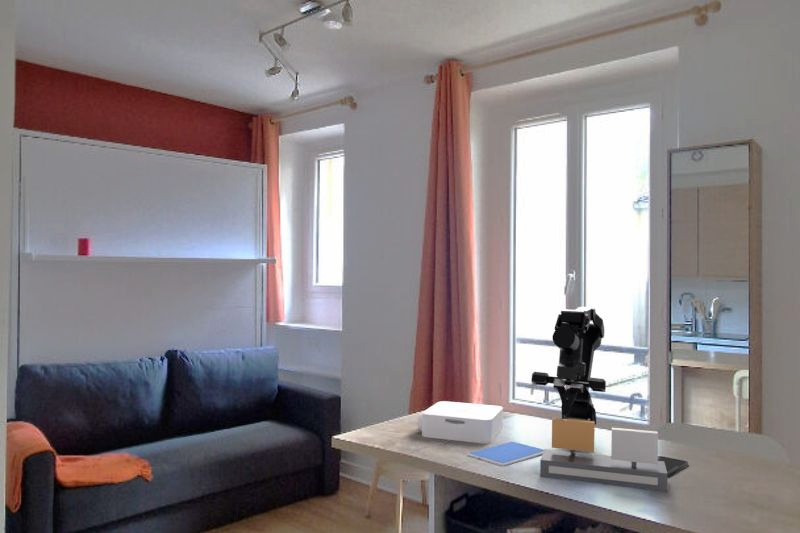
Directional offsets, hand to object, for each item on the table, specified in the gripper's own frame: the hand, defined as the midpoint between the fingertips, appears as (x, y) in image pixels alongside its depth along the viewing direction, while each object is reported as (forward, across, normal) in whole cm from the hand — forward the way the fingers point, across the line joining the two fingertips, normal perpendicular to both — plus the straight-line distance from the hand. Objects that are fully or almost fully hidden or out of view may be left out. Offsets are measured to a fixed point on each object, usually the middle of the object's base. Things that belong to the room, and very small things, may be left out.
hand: (566, 415), depth 168 cm
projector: (+8, -31, +21) cm, 38 cm away
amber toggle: (+10, +3, -7) cm, 12 cm away
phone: (+10, +24, +6) cm, 27 cm away
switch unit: (+14, +10, -8) cm, 19 cm away
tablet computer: (+13, -14, +3) cm, 19 cm away
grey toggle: (+10, +17, -12) cm, 23 cm away
